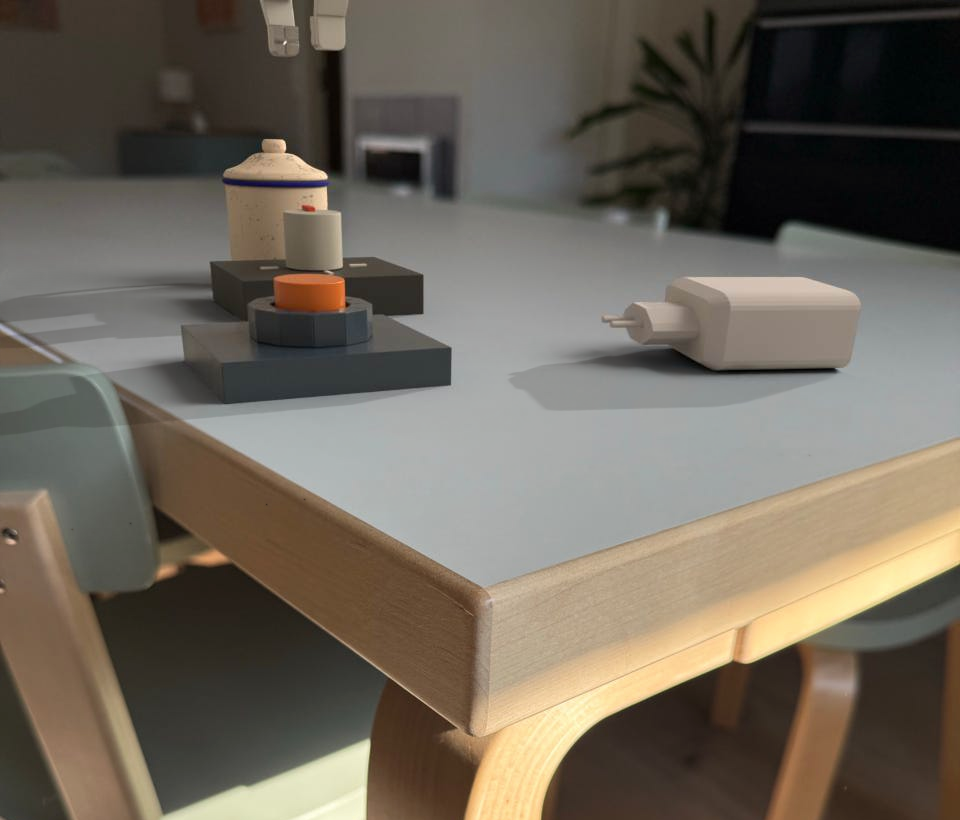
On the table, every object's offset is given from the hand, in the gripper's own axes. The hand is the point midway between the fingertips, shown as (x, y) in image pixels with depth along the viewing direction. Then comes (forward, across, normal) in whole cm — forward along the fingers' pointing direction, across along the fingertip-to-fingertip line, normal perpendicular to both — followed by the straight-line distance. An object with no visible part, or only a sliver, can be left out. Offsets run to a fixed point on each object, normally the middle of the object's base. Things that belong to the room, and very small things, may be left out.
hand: (305, 53), depth 65 cm
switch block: (+17, +16, -6) cm, 24 cm away
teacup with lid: (+17, -20, +3) cm, 27 cm away
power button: (+14, +16, -5) cm, 22 cm away
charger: (+18, +20, +20) cm, 34 cm away
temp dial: (+14, -6, +2) cm, 16 cm away
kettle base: (+17, -6, +2) cm, 18 cm away
